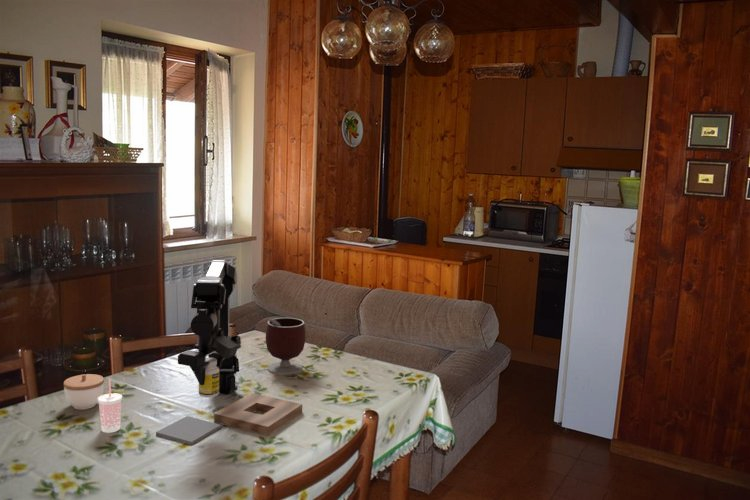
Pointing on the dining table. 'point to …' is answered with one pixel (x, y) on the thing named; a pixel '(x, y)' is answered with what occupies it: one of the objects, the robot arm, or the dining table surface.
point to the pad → (188, 430)
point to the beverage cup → (110, 411)
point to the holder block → (265, 424)
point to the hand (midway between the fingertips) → (208, 381)
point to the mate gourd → (285, 344)
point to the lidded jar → (83, 390)
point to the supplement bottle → (210, 379)
